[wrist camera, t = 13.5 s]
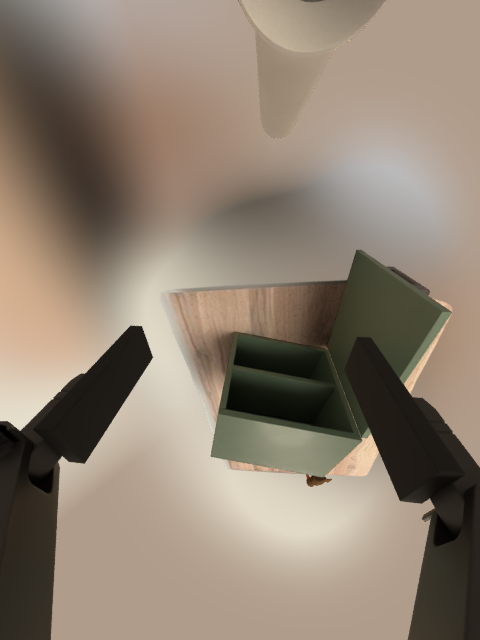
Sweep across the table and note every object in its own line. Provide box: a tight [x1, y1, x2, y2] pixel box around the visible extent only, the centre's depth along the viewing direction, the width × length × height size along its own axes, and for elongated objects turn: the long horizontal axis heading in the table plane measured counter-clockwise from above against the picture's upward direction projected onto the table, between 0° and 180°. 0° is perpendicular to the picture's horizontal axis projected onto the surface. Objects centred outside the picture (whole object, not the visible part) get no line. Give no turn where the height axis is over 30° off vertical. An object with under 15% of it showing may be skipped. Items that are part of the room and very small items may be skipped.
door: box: [327, 250, 452, 438], centre depth 38 cm, size 7×26×24 cm, turn 1°
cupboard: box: [211, 332, 362, 477], centre depth 51 cm, size 18×26×24 cm
